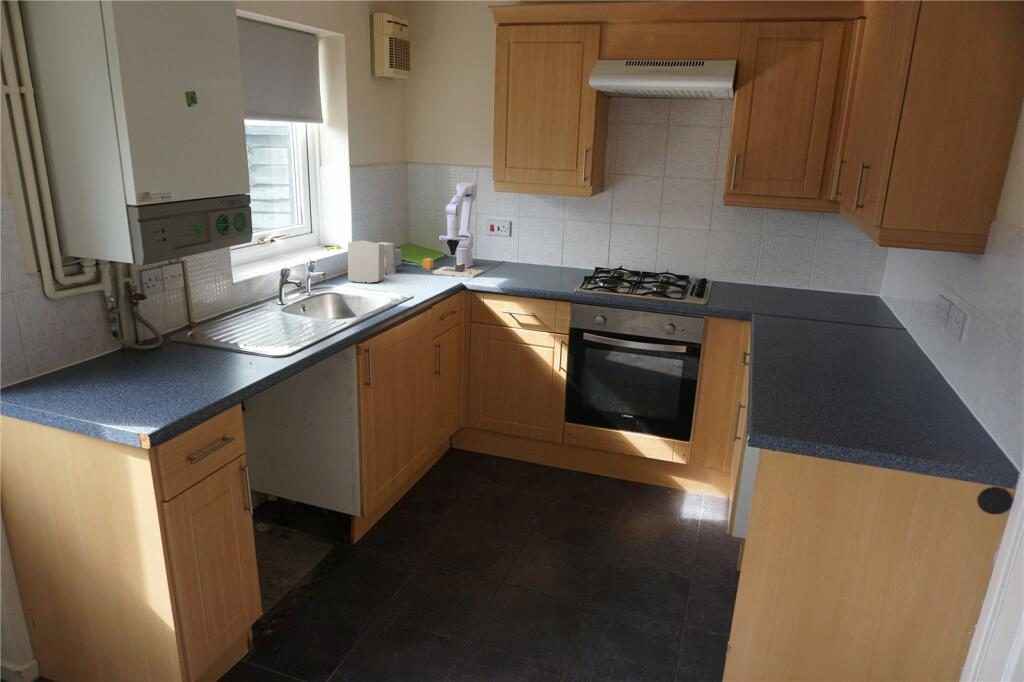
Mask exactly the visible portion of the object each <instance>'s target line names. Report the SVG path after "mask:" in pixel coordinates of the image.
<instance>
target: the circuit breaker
mask: <svg viewBox="0 0 1024 682" xmlns="http://www.w3.org/2000/svg"><path fill="white" fill-rule="evenodd" d="M379 243H382V244H384V276H387V275H386V274H390V275H392V274H391V273H394V274H396V273H397V269H396V268H397V266H400V265H402V264H403V263H402V261H403V259H402V256H403V253H402V249H398V248H396V243H395V242H387V241H381V242H379Z"/></svg>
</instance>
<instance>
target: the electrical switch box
mask: <svg viewBox="0 0 1024 682" xmlns="http://www.w3.org/2000/svg"><path fill="white" fill-rule="evenodd" d="M384 278H385V275H384V244H382V243H380V242H372V241H368V240H363V239H362V240H357V241H349V242H348V243H347V279H348V281H351V282H355V283H359V282H363V283H364V282H367V283H366V284H368V283H369V284H370V283H376V282H382V281H383V280H384Z"/></svg>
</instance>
